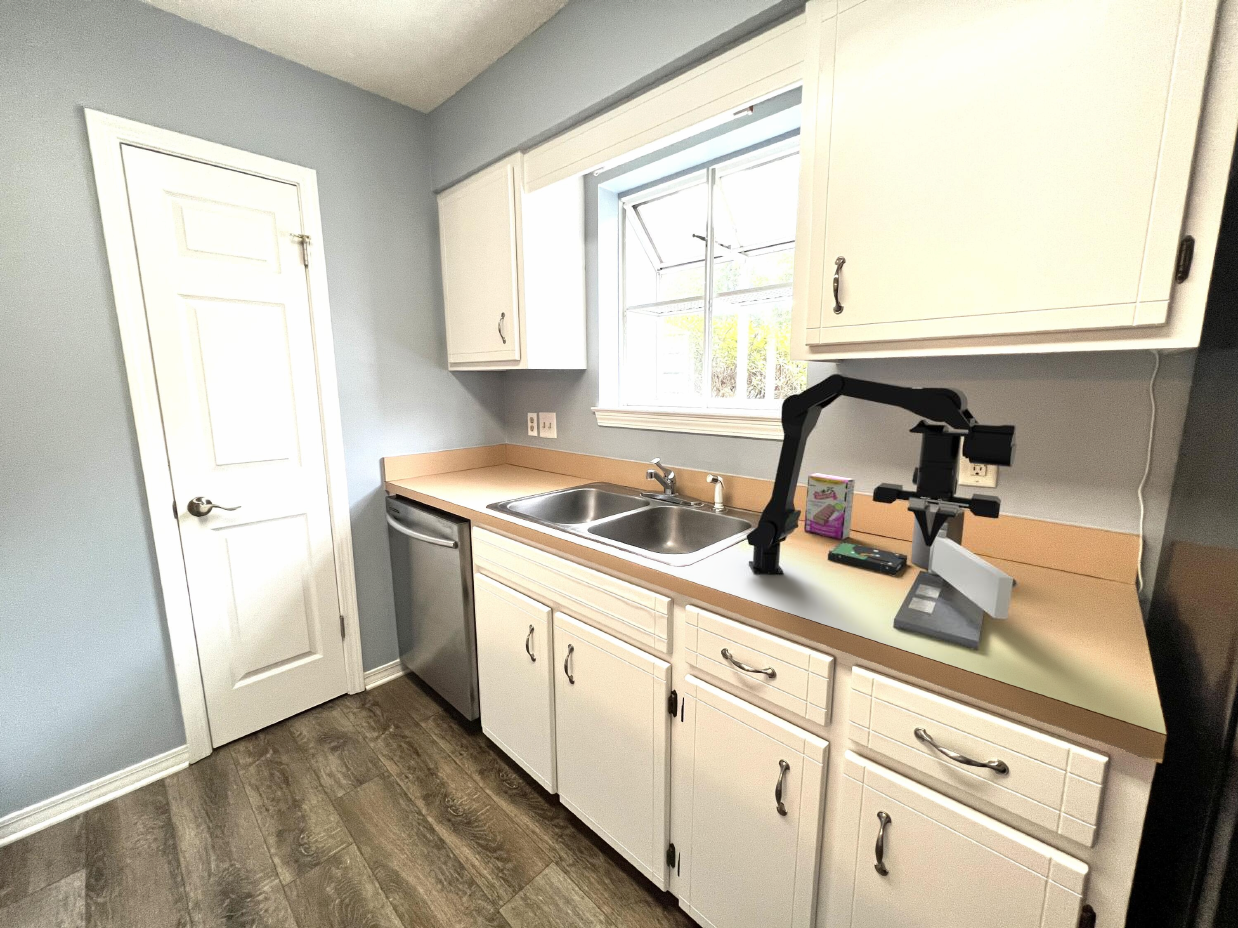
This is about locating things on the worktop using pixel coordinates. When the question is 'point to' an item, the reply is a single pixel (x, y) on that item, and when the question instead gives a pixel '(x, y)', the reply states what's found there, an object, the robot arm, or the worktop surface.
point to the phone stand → (940, 611)
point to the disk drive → (868, 558)
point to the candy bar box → (829, 505)
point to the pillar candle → (919, 547)
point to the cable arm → (971, 576)
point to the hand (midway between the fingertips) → (928, 545)
